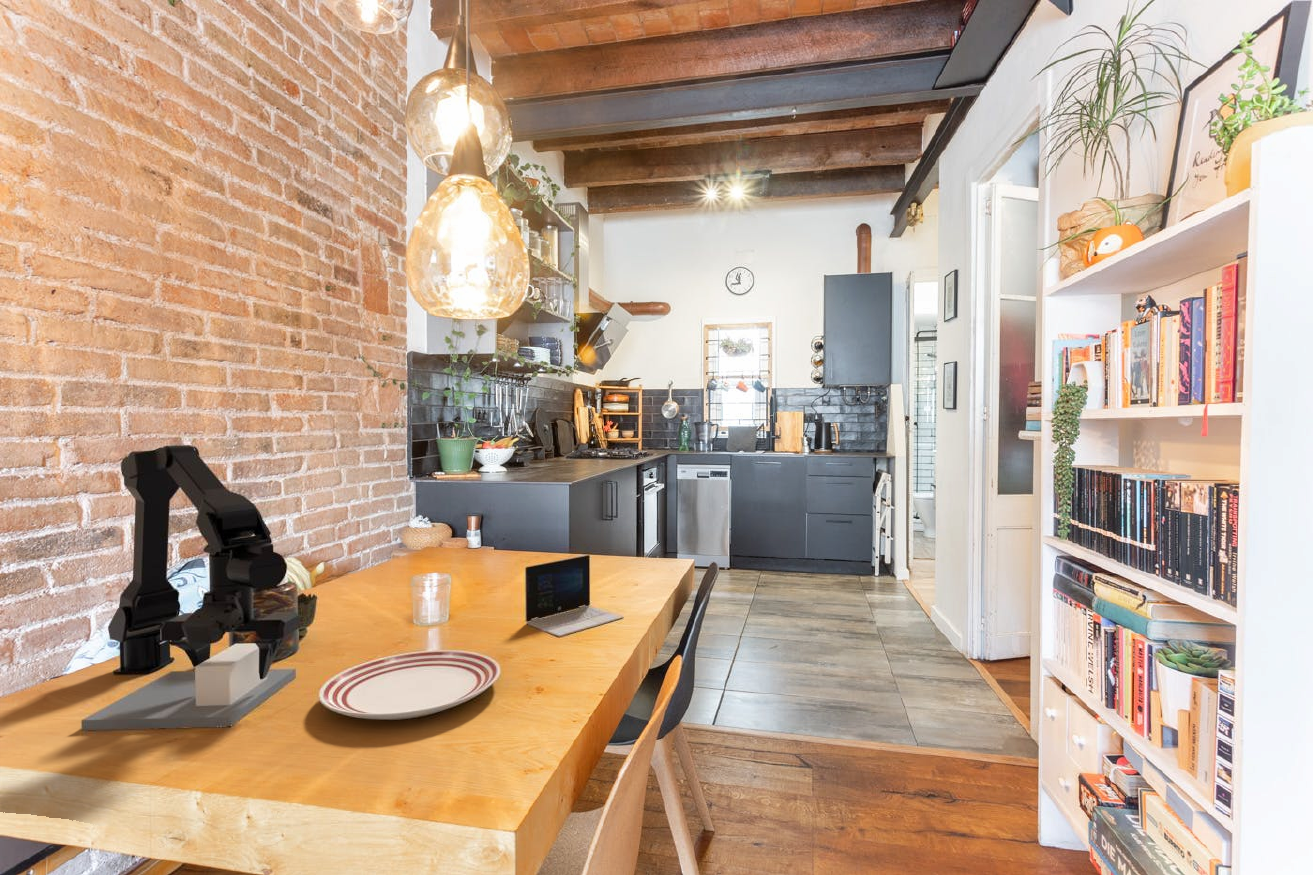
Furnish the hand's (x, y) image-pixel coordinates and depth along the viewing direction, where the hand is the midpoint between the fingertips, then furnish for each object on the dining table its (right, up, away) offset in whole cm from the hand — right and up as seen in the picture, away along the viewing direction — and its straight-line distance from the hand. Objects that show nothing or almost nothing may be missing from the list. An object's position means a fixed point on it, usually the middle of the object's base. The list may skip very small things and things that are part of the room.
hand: (233, 679), depth 101 cm
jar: (-8, -3, +21) cm, 22 cm away
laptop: (+49, -3, +40) cm, 64 cm away
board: (-5, -4, 0) cm, 7 cm away
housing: (0, -2, 0) cm, 2 cm away
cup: (-7, -3, +31) cm, 32 cm away
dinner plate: (+28, -4, +2) cm, 28 cm away
